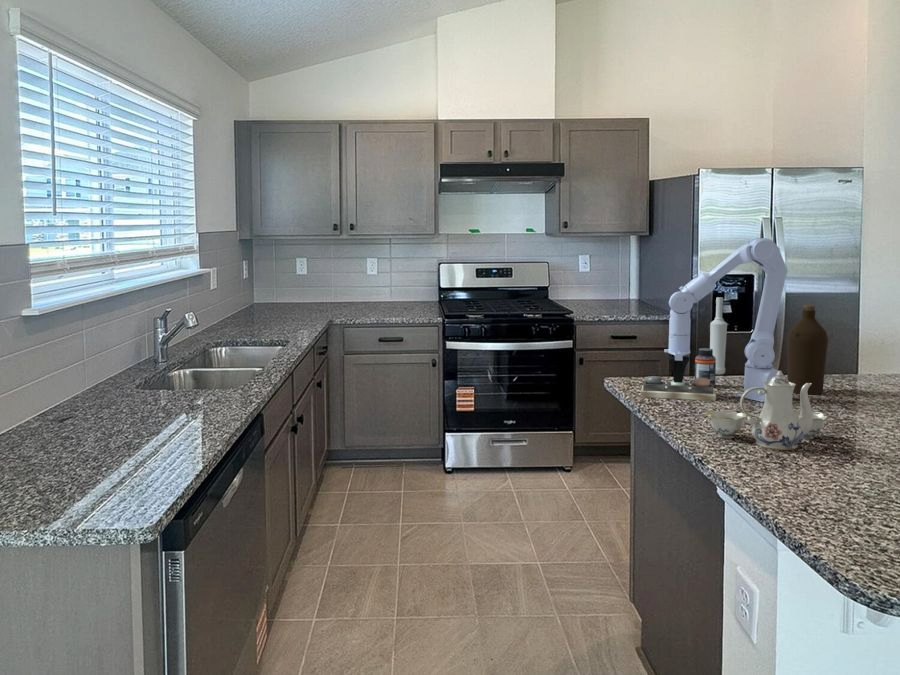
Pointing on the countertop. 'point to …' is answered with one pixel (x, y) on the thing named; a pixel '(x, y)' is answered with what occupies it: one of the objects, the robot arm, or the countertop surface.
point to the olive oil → (807, 353)
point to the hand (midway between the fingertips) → (678, 382)
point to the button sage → (678, 383)
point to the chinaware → (773, 417)
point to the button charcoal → (654, 380)
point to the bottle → (718, 337)
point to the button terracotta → (702, 382)
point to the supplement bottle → (705, 365)
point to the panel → (678, 391)
